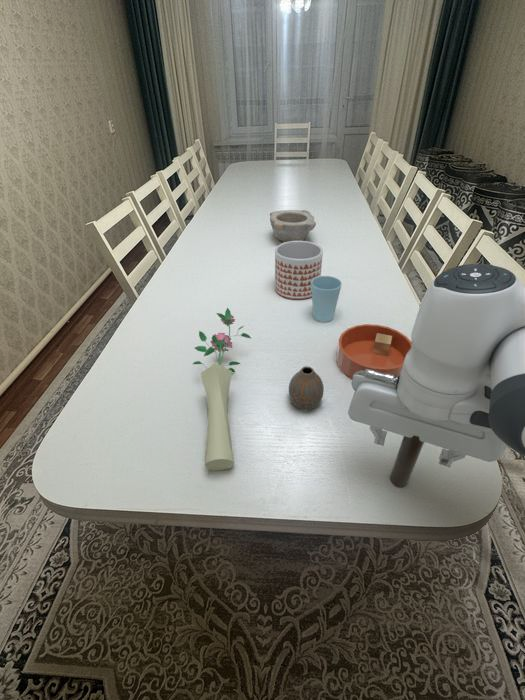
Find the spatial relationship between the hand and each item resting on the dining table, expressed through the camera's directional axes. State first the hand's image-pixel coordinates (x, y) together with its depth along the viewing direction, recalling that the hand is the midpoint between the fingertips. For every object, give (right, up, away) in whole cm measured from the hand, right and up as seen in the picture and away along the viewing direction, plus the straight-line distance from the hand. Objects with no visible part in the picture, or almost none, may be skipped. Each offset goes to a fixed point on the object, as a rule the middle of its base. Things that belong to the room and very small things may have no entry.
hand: (410, 451), depth 55 cm
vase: (-14, +5, +19) cm, 24 cm away
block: (+5, +16, +30) cm, 34 cm away
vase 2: (-12, +34, +56) cm, 67 cm away
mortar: (-11, +59, +87) cm, 106 cm away
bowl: (+3, +13, +28) cm, 31 cm away
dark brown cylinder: (0, -6, +4) cm, 7 cm away
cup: (-6, +25, +43) cm, 50 cm away
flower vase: (-31, +5, +20) cm, 37 cm away
